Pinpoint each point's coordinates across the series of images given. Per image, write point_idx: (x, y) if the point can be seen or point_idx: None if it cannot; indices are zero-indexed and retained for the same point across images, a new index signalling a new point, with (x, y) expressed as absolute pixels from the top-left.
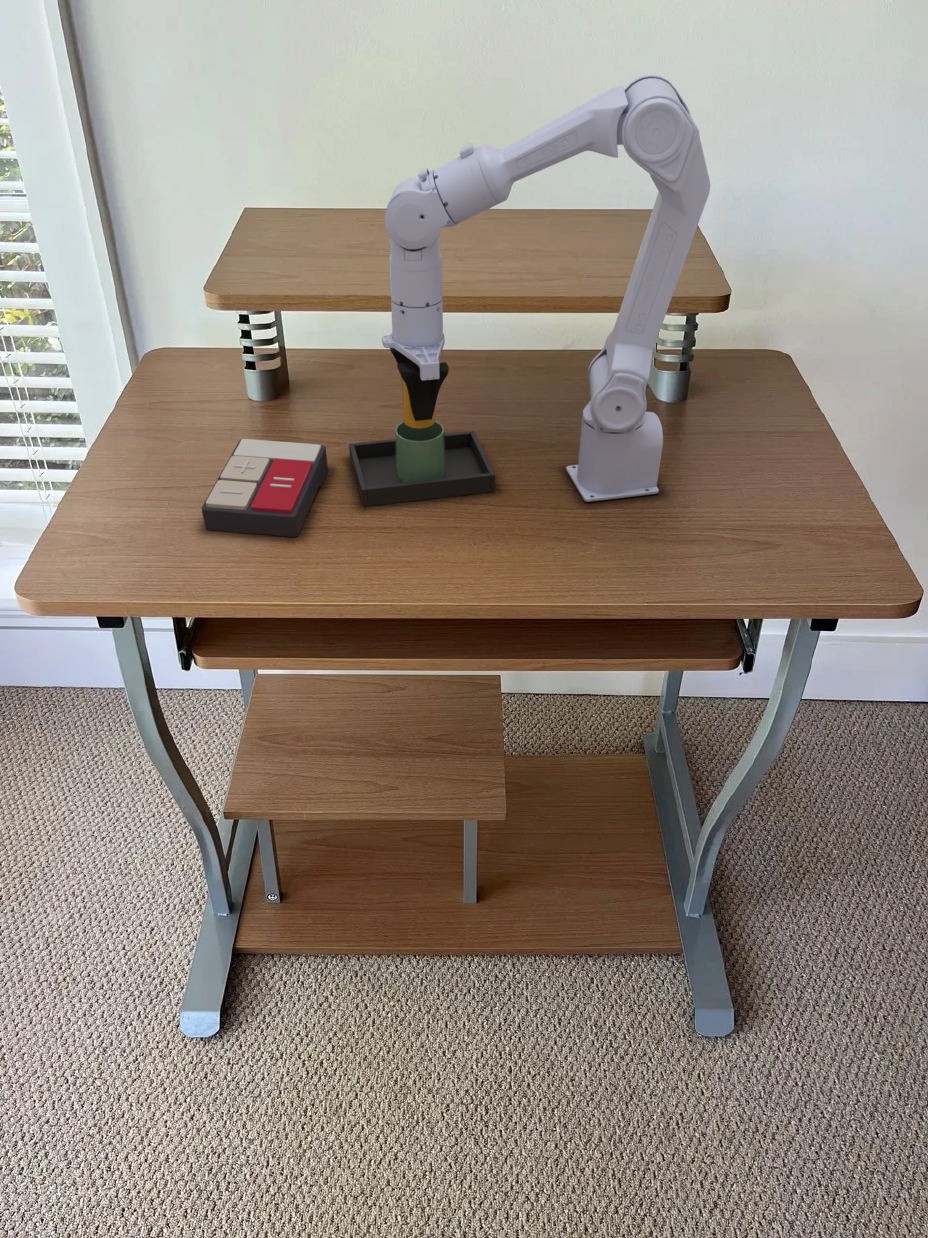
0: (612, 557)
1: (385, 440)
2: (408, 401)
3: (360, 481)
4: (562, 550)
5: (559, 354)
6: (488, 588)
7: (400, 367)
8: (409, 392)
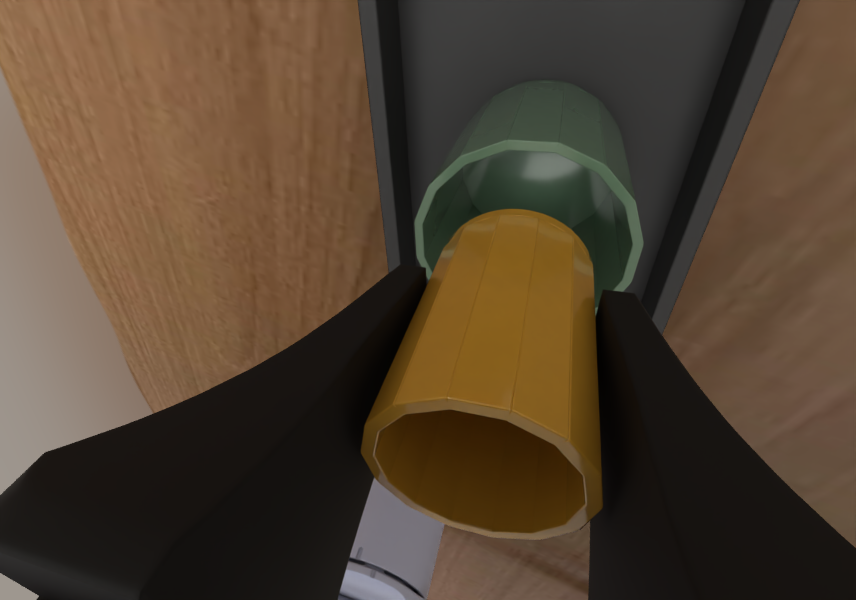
0: (213, 374)
1: (758, 80)
2: (433, 307)
3: None
4: (218, 329)
5: None
6: (78, 182)
7: (36, 568)
8: (251, 369)
